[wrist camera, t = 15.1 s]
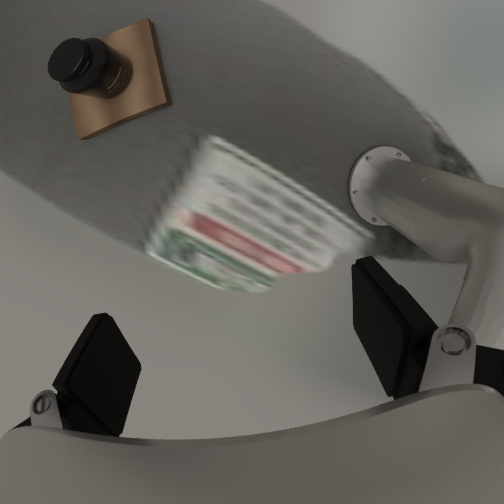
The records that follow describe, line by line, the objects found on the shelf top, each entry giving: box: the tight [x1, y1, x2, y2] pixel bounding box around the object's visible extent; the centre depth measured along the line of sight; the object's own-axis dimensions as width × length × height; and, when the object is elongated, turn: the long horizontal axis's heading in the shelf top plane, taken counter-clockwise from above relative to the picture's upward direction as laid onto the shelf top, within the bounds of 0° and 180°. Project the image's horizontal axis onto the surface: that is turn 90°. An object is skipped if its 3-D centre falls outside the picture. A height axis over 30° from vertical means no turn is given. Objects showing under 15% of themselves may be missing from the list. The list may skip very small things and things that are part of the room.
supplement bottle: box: [48, 38, 133, 99], centre depth 22 cm, size 7×7×12 cm
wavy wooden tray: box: [68, 18, 172, 140], centre depth 28 cm, size 14×14×3 cm
